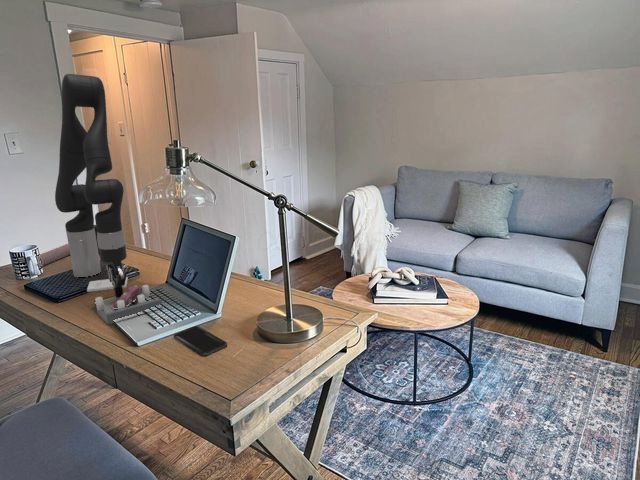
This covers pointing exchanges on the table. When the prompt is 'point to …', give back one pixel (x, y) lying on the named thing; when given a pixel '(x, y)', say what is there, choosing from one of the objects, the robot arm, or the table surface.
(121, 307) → the dock
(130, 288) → the purple rounded block
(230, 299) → the table surface
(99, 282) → the external hard drive
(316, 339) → the table surface
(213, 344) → the phone
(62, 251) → the pink brown cylinder
